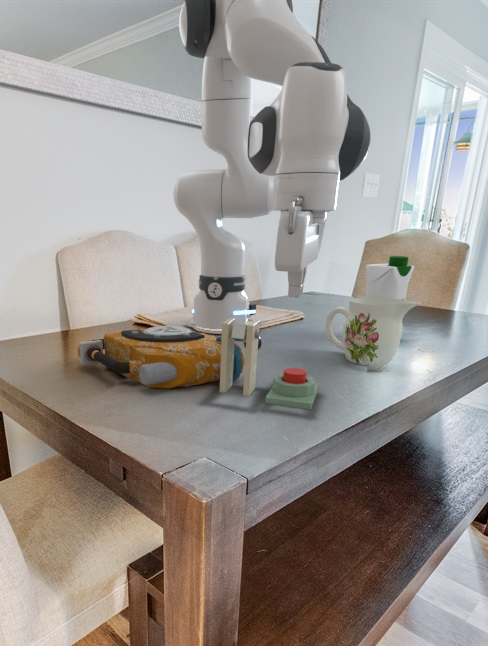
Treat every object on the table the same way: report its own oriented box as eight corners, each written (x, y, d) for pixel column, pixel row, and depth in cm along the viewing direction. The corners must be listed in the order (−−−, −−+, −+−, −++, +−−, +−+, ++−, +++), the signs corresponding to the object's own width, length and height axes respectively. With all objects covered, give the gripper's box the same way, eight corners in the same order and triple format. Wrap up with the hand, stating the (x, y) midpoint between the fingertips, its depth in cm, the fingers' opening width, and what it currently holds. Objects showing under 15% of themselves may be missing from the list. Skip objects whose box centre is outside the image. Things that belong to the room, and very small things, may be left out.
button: (284, 376, 76) (285, 366, 76) (307, 379, 75) (308, 369, 74) (280, 383, 73) (281, 372, 72) (303, 386, 72) (305, 375, 71)
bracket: (223, 384, 83) (225, 314, 79) (266, 390, 81) (272, 317, 76) (205, 403, 75) (207, 325, 70) (253, 411, 72) (258, 330, 67)
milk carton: (380, 345, 110) (394, 258, 103) (351, 336, 118) (363, 255, 110) (404, 340, 114) (420, 256, 107) (375, 333, 122) (388, 254, 114)
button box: (276, 389, 81) (278, 368, 79) (317, 395, 79) (320, 373, 77) (264, 410, 72) (266, 386, 71) (309, 417, 70) (312, 392, 68)
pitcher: (334, 351, 105) (342, 289, 100) (416, 368, 93) (430, 299, 88) (309, 361, 97) (316, 295, 92) (395, 380, 86) (409, 306, 81)
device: (133, 358, 68) (67, 326, 92) (135, 410, 71) (71, 366, 95) (251, 340, 79) (165, 316, 103) (249, 385, 82) (166, 352, 106)
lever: (244, 352, 85) (247, 335, 85) (261, 354, 84) (264, 336, 84) (227, 340, 73) (230, 320, 73) (247, 342, 72) (250, 321, 72)
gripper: (319, 195, 55) (307, 309, 61) (333, 199, 73) (323, 288, 78) (267, 195, 58) (260, 306, 63) (293, 199, 75) (285, 285, 80)
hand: (295, 296), depth 71 cm, fingers closed
